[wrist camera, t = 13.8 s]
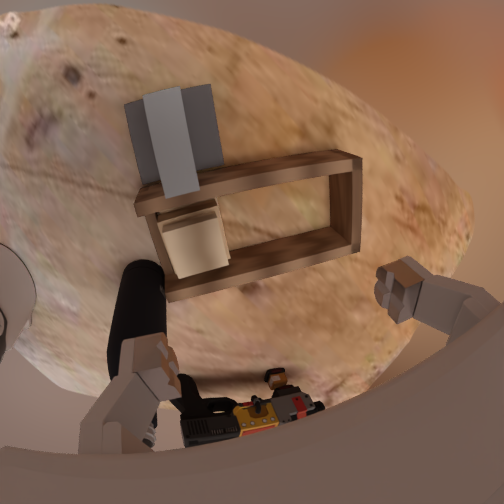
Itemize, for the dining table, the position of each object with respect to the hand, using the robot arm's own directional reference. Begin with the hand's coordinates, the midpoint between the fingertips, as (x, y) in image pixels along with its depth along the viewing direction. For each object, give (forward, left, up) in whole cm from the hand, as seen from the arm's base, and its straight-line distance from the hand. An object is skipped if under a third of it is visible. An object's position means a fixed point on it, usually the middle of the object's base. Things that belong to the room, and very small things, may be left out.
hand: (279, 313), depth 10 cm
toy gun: (-3, -41, -27) cm, 49 cm away
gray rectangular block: (-3, +5, -26) cm, 27 cm away
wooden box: (+5, -7, -27) cm, 28 cm away
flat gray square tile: (-3, +5, -27) cm, 27 cm away
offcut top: (-3, -7, -22) cm, 24 cm away
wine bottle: (-12, -13, -27) cm, 32 cm away
